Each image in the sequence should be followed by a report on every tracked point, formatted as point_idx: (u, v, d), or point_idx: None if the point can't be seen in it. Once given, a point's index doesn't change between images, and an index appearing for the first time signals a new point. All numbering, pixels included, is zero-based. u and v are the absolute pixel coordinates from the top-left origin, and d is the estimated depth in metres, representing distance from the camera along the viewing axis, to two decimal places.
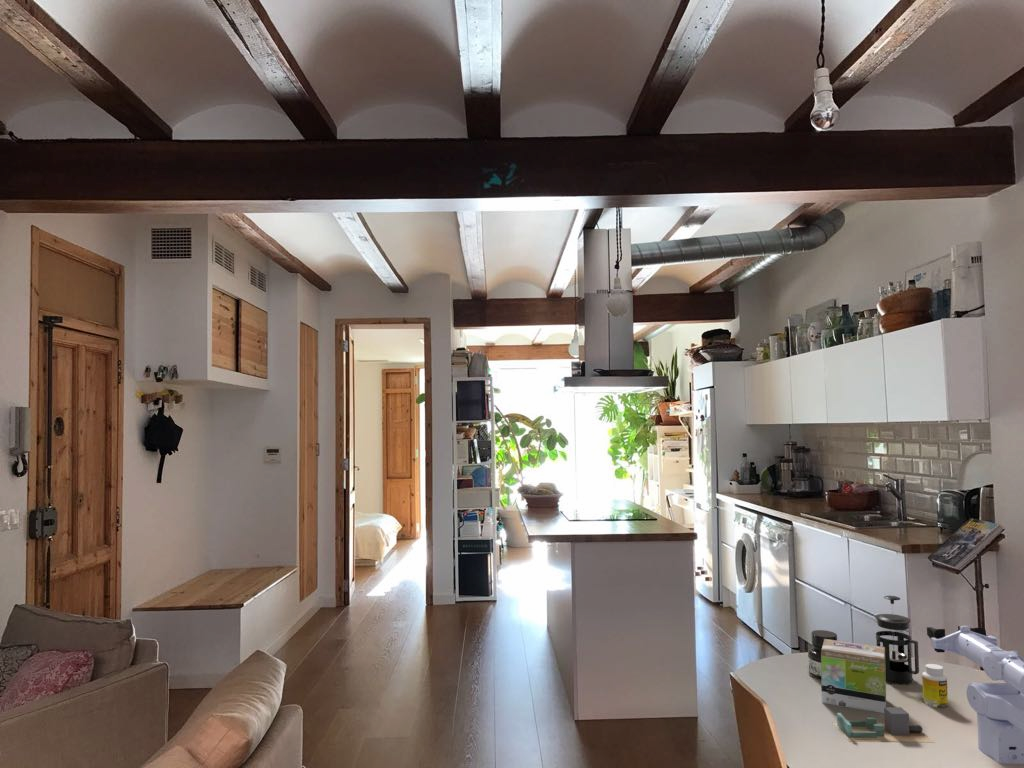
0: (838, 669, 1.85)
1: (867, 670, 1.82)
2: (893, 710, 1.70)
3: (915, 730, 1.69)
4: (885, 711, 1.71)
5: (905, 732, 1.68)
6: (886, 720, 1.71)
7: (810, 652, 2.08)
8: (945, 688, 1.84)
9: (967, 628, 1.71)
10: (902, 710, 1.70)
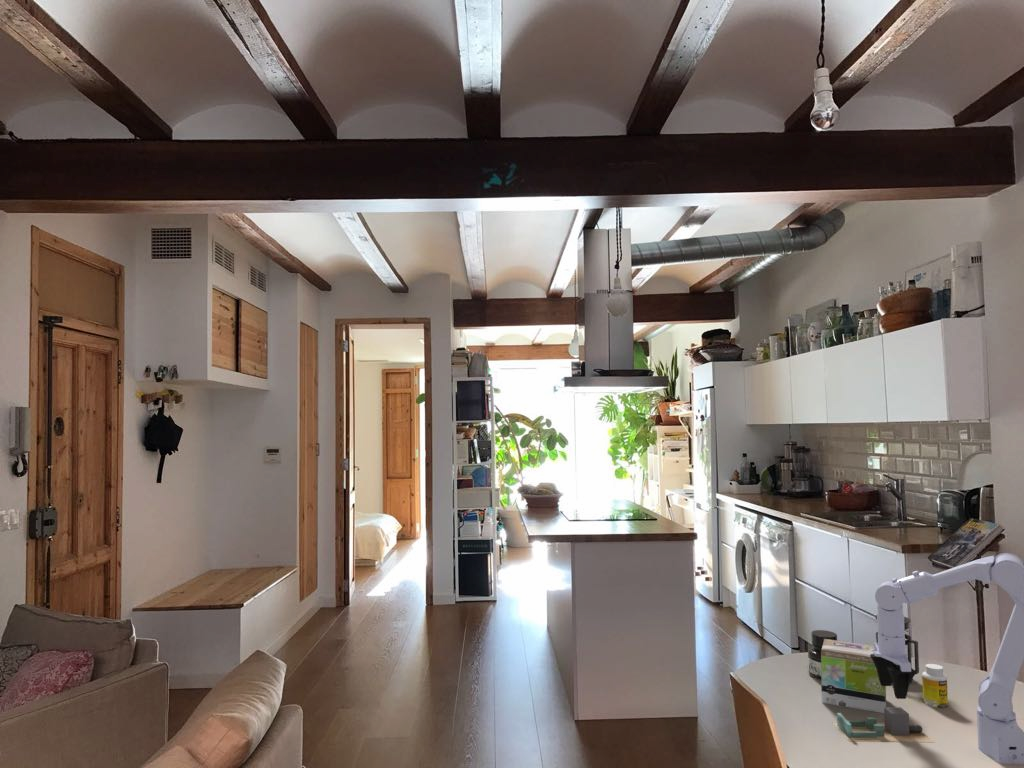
0: (838, 669, 1.85)
1: (867, 670, 1.82)
2: (893, 710, 1.70)
3: (915, 730, 1.69)
4: (885, 711, 1.71)
5: (905, 732, 1.68)
6: (886, 720, 1.71)
7: (810, 652, 2.08)
8: (945, 688, 1.84)
9: (875, 652, 1.73)
10: (902, 710, 1.70)
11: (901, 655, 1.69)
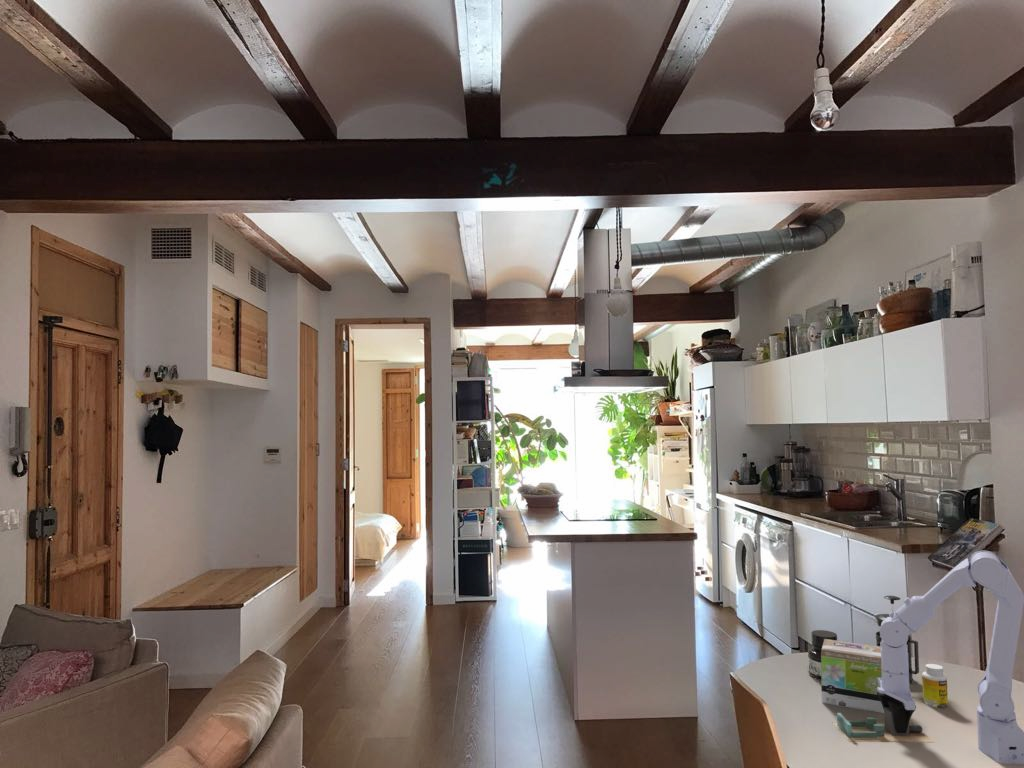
0: (838, 669, 1.85)
1: (867, 670, 1.82)
2: None
3: (915, 730, 1.69)
4: (885, 711, 1.71)
5: None
6: (886, 720, 1.71)
7: (810, 652, 2.08)
8: (945, 688, 1.84)
9: (879, 688, 1.71)
10: None
11: (905, 692, 1.68)
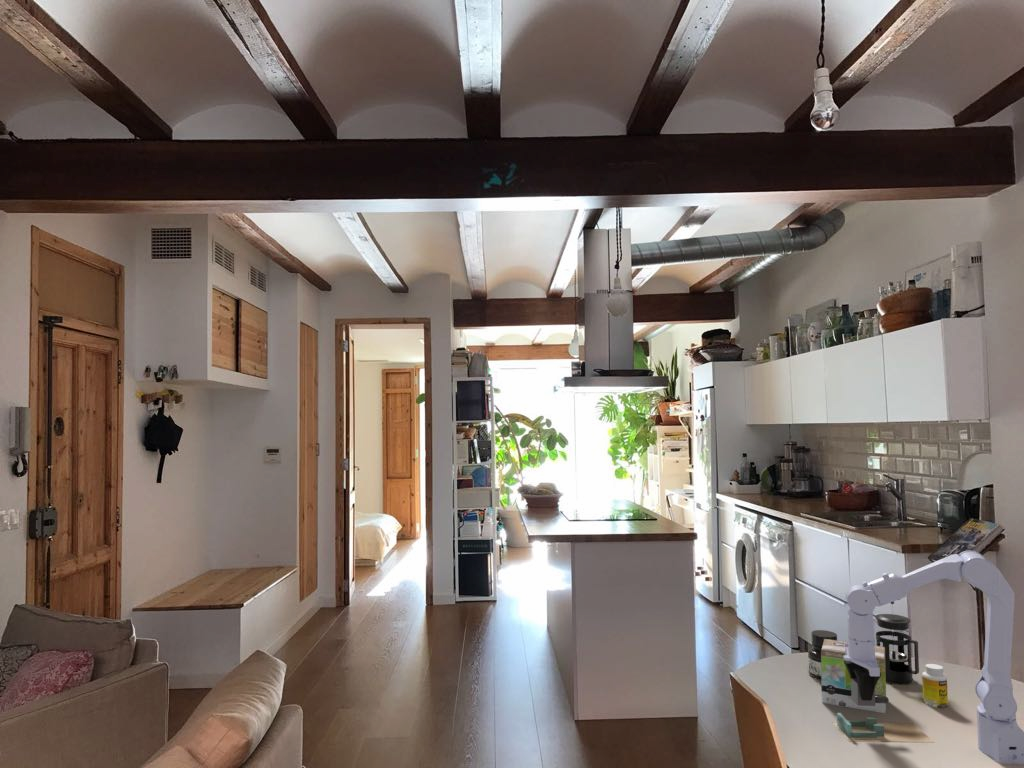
0: (838, 669, 1.85)
1: None
2: None
3: (881, 701, 1.70)
4: (852, 681, 1.72)
5: (871, 702, 1.69)
6: (853, 691, 1.72)
7: (810, 652, 2.08)
8: (945, 688, 1.84)
9: (845, 656, 1.72)
10: None
11: (871, 659, 1.68)
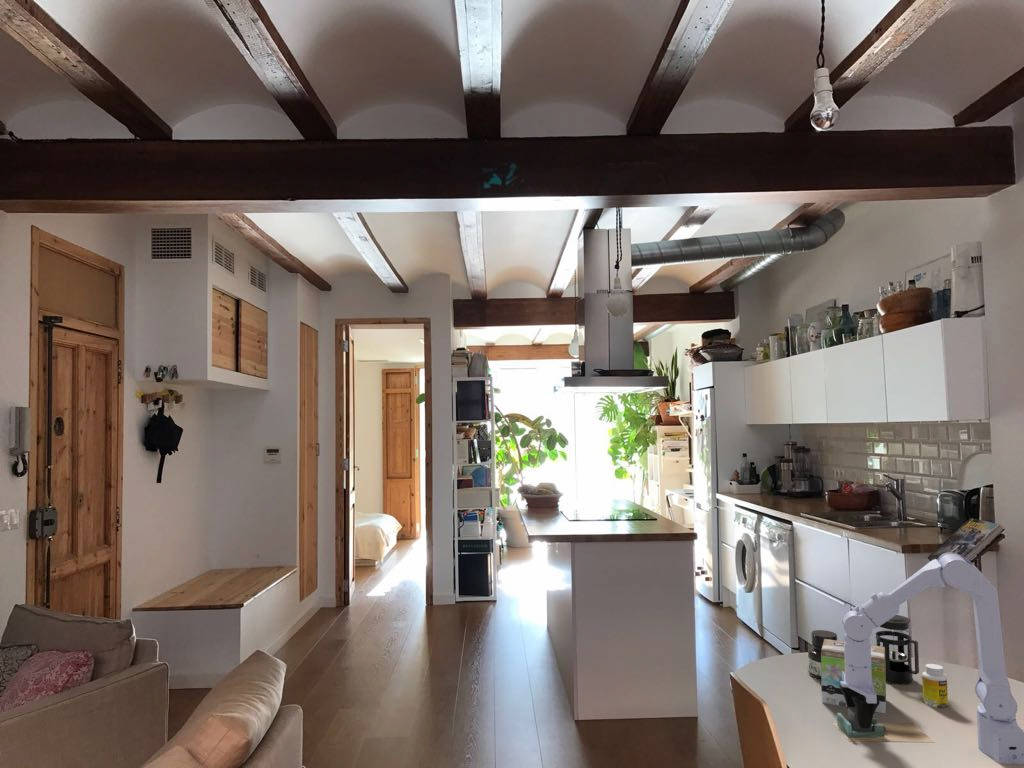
0: (838, 669, 1.85)
1: None
2: None
3: None
4: (849, 710, 1.72)
5: None
6: (849, 720, 1.71)
7: (810, 652, 2.08)
8: (945, 688, 1.84)
9: (842, 682, 1.71)
10: None
11: (867, 686, 1.68)
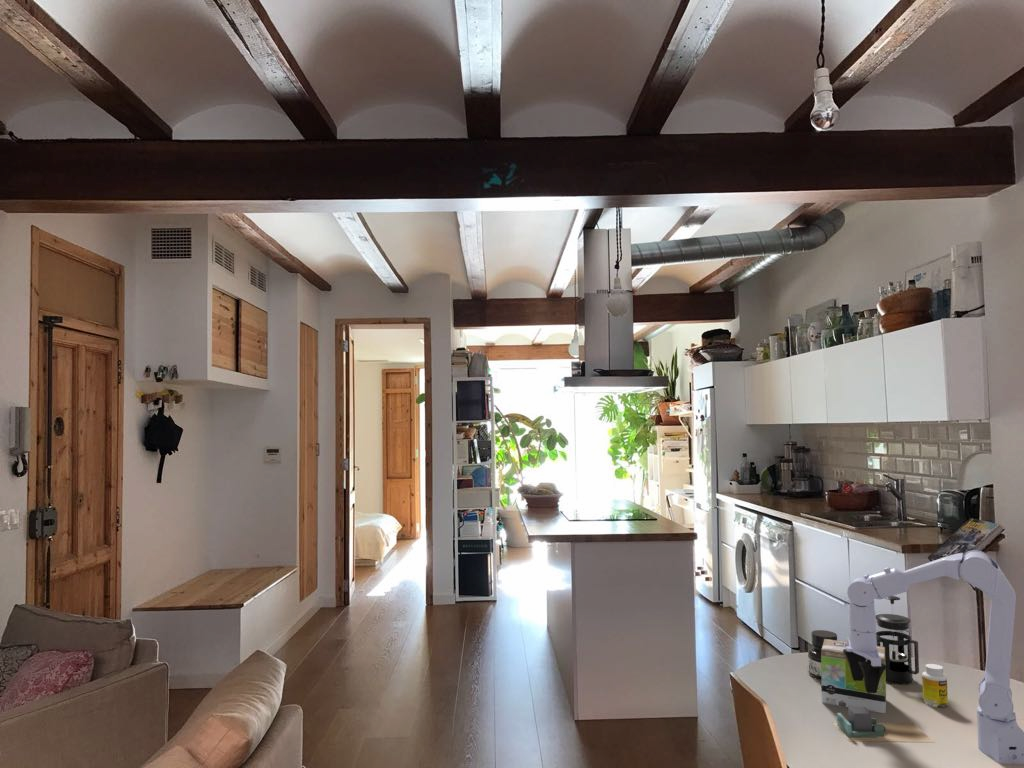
0: (838, 669, 1.85)
1: None
2: (857, 710, 1.70)
3: None
4: (849, 710, 1.72)
5: None
6: (849, 720, 1.71)
7: (810, 652, 2.08)
8: (945, 688, 1.84)
9: (847, 647, 1.75)
10: (865, 710, 1.71)
11: (872, 650, 1.72)
